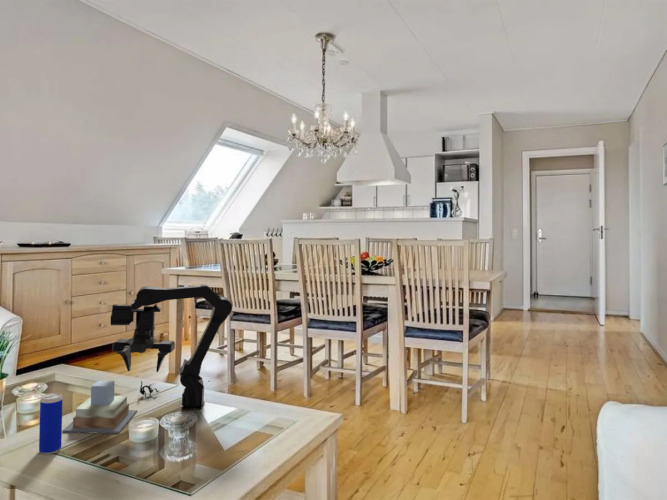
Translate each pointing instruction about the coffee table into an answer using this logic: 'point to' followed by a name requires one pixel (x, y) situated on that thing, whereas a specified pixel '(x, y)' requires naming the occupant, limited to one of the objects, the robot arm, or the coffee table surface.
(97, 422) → the plinth
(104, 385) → the top block
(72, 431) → the grey square plate
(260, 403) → the coffee table surface
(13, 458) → the coffee table surface
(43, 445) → the beverage can
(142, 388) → the creature
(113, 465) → the coffee table surface
